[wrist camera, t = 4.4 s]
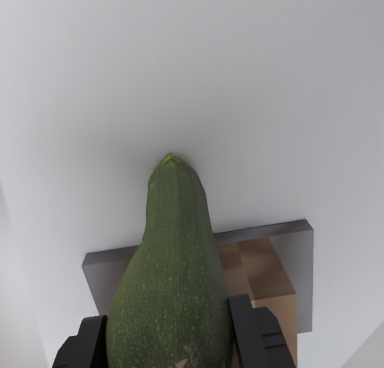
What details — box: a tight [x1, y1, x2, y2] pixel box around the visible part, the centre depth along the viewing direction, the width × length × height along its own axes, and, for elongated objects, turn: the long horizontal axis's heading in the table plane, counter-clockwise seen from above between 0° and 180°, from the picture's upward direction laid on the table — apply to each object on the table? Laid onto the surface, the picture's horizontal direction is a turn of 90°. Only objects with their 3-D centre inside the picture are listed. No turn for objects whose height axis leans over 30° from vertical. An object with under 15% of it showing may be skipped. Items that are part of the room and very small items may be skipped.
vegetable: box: [106, 154, 234, 368], centre depth 14 cm, size 4×4×20 cm
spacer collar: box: [82, 220, 314, 368], centre depth 24 cm, size 18×11×8 cm, turn 98°
